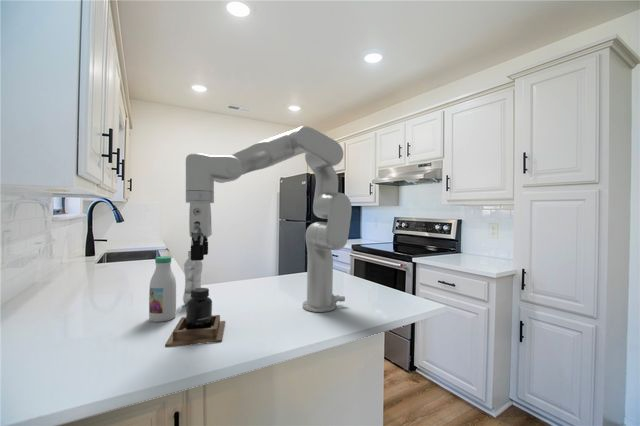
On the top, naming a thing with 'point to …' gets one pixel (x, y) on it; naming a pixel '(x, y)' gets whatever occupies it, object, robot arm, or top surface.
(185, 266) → the plastic bottle
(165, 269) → the milk bottle
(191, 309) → the supplement bottle
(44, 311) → the top surface
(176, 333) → the walnut stand
